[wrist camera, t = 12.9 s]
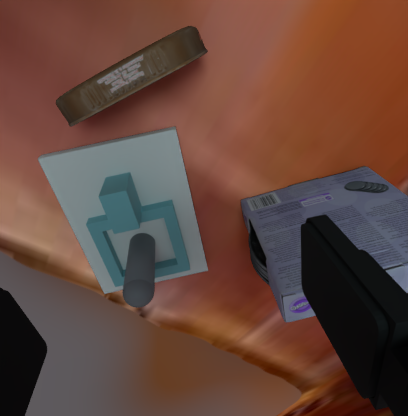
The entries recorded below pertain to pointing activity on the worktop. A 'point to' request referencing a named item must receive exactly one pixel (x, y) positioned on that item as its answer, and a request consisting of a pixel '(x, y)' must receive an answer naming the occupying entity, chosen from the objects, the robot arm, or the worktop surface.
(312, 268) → the robot arm
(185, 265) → the link
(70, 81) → the worktop surface
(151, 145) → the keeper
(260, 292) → the worktop surface
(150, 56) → the tin
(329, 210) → the cake pan box
